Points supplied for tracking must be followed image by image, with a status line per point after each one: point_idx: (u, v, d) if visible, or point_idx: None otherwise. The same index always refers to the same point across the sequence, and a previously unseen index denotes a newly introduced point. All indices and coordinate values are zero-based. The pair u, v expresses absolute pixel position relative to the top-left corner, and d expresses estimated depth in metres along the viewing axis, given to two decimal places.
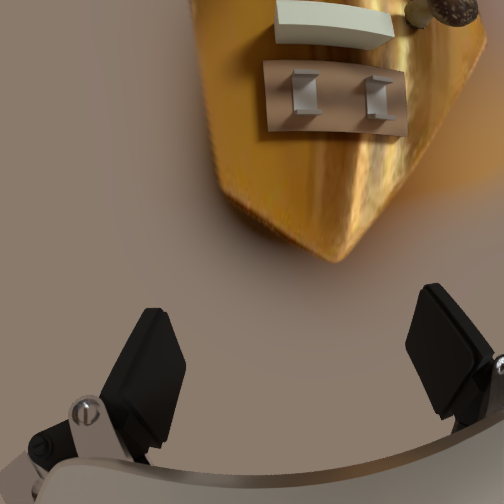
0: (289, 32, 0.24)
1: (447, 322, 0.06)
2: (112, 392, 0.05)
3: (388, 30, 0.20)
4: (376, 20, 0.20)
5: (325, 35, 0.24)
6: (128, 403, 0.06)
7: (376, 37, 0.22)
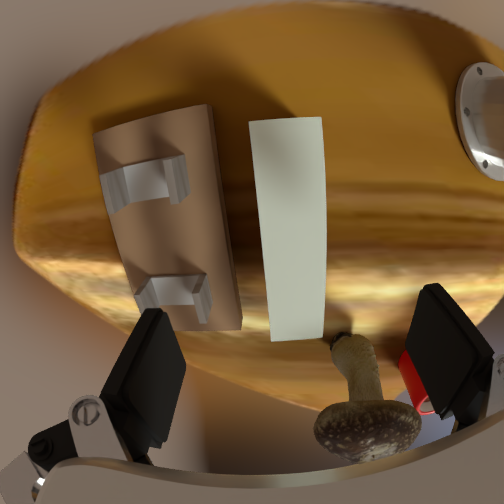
0: None
1: (447, 322, 0.06)
2: (112, 392, 0.05)
3: (282, 332, 0.18)
4: (299, 315, 0.17)
5: None
6: (128, 403, 0.06)
7: None
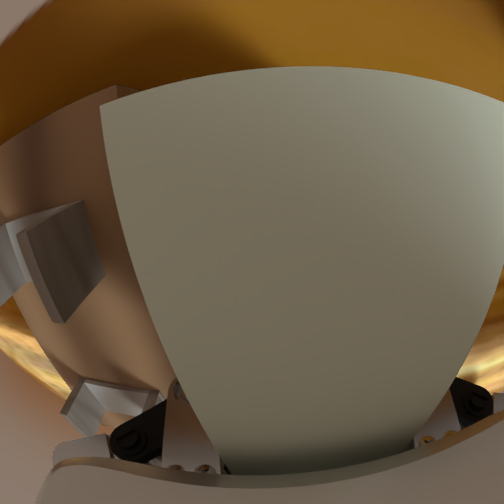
0: None
1: None
2: None
3: None
4: None
5: None
6: None
7: None
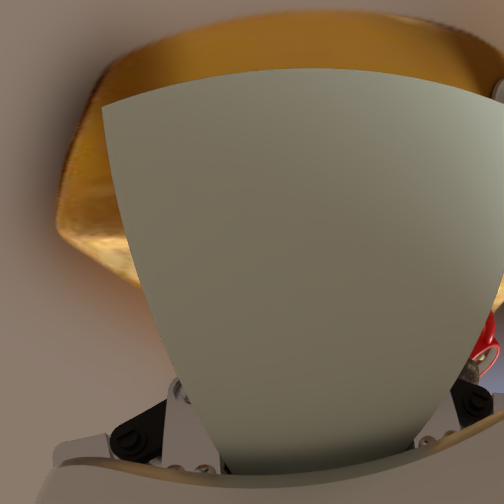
0: None
1: None
2: None
3: None
4: None
5: None
6: None
7: None
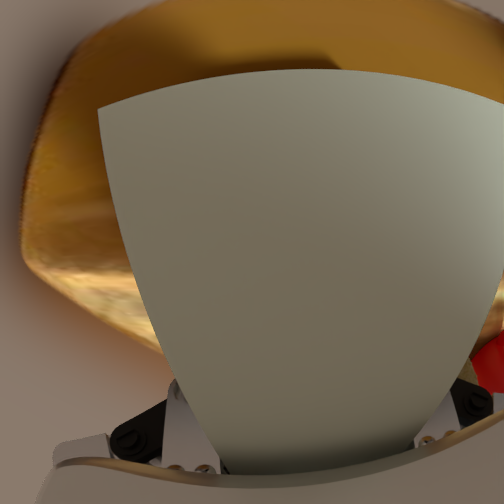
0: None
1: None
2: None
3: None
4: None
5: None
6: None
7: None
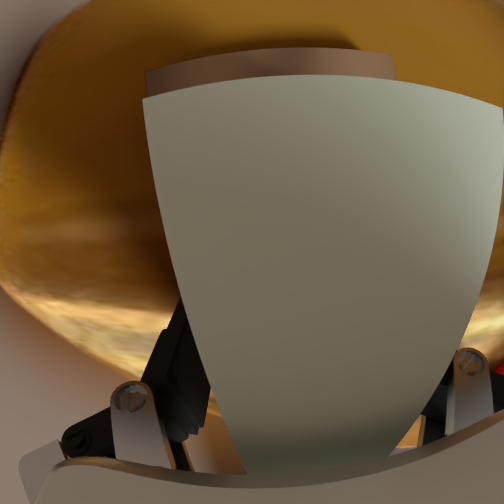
0: None
1: None
2: (160, 375, 0.06)
3: None
4: None
5: None
6: (174, 386, 0.06)
7: None
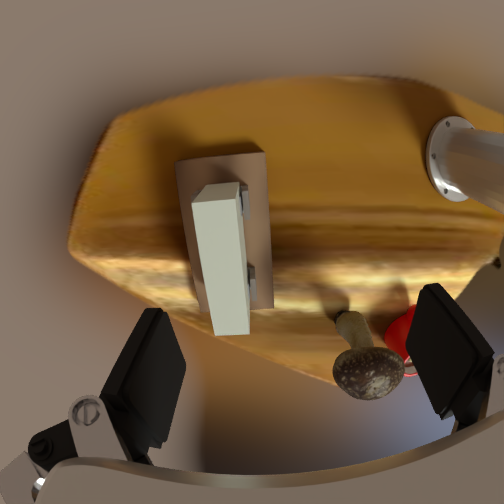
0: None
1: (447, 322, 0.06)
2: (112, 392, 0.05)
3: (221, 329, 0.27)
4: (231, 318, 0.26)
5: None
6: (128, 403, 0.06)
7: None
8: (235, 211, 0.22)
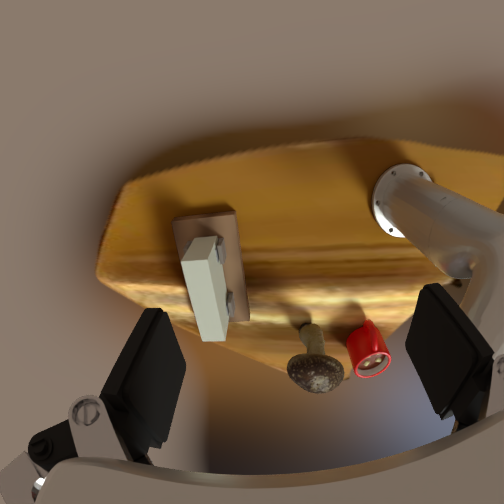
0: None
1: (447, 322, 0.06)
2: (112, 392, 0.05)
3: (206, 337, 0.40)
4: (212, 330, 0.39)
5: None
6: (128, 403, 0.06)
7: None
8: (208, 266, 0.34)
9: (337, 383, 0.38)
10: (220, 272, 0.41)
